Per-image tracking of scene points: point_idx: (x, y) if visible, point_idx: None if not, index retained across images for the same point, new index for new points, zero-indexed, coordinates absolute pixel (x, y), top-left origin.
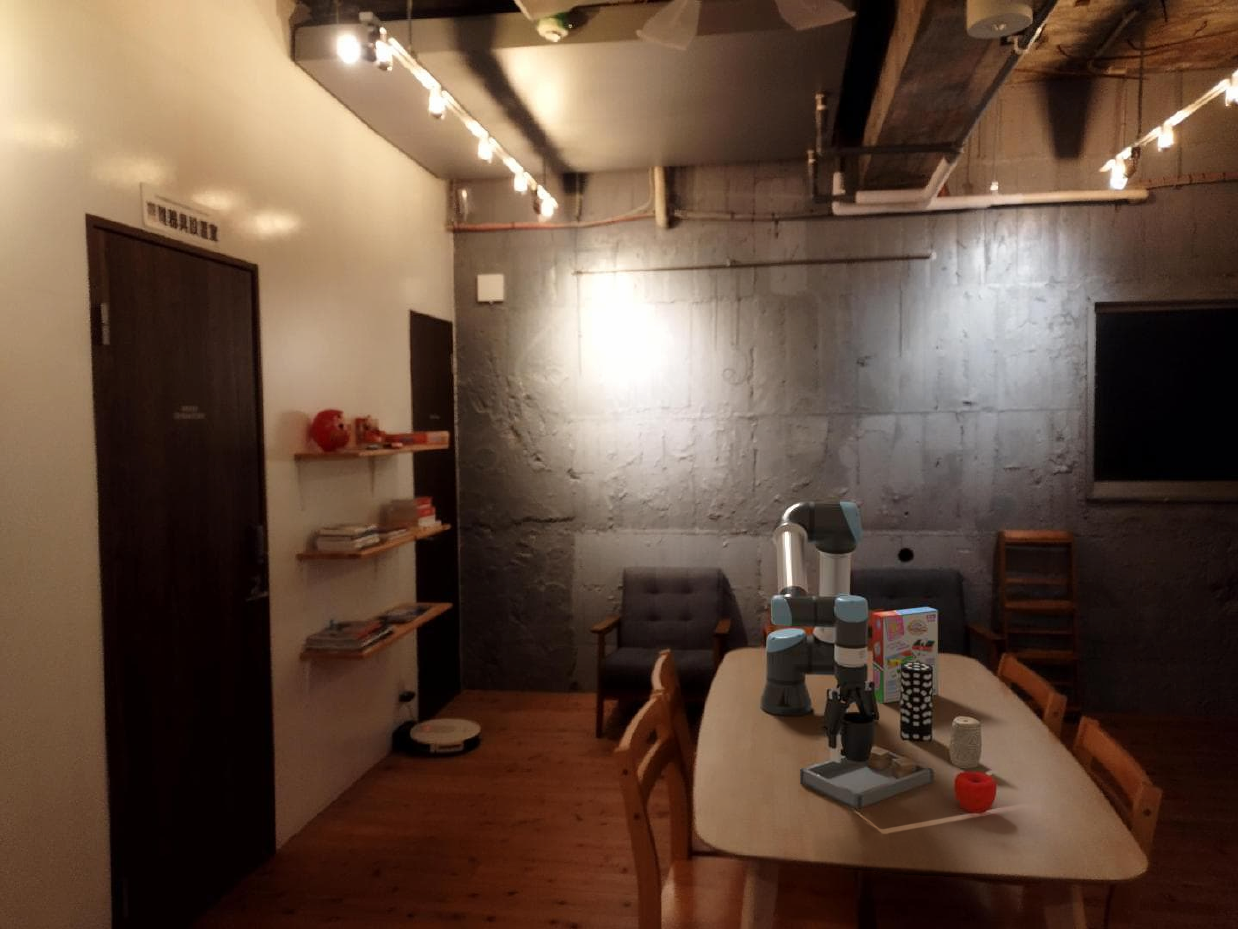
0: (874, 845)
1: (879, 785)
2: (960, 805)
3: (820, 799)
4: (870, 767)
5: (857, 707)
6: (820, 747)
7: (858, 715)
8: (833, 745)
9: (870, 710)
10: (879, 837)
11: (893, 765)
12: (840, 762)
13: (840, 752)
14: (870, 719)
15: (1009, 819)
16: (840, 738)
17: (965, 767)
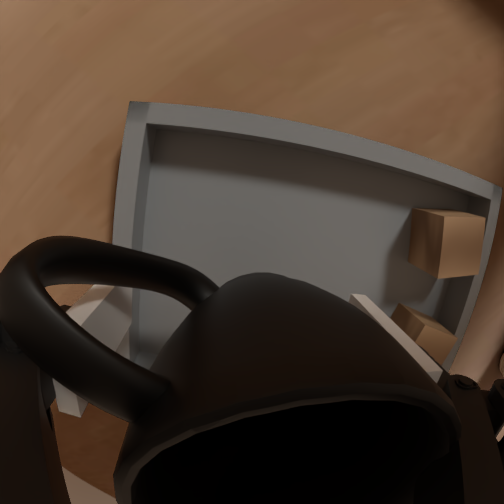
0: (60, 430)
1: None
2: None
3: (100, 237)
4: (412, 224)
5: (463, 487)
6: (432, 21)
7: (433, 426)
8: None
9: (501, 454)
10: (86, 429)
11: (412, 325)
12: (130, 322)
13: (114, 349)
14: (398, 492)
15: None
16: (85, 402)
17: (501, 368)
